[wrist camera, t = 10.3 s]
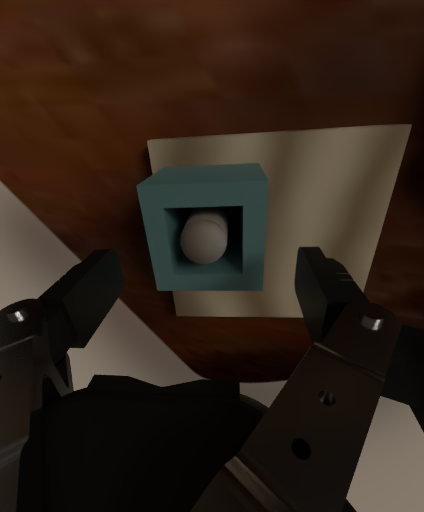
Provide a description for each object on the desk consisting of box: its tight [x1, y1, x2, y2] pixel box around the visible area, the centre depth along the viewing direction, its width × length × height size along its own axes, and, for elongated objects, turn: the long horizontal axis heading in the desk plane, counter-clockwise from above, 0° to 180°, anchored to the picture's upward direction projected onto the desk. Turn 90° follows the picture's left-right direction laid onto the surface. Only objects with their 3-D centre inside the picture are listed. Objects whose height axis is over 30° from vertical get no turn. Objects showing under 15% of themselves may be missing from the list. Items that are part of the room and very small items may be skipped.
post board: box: [147, 124, 412, 317], centre depth 16 cm, size 16×15×8 cm
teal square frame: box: [136, 163, 269, 291], centre depth 15 cm, size 6×6×5 cm
